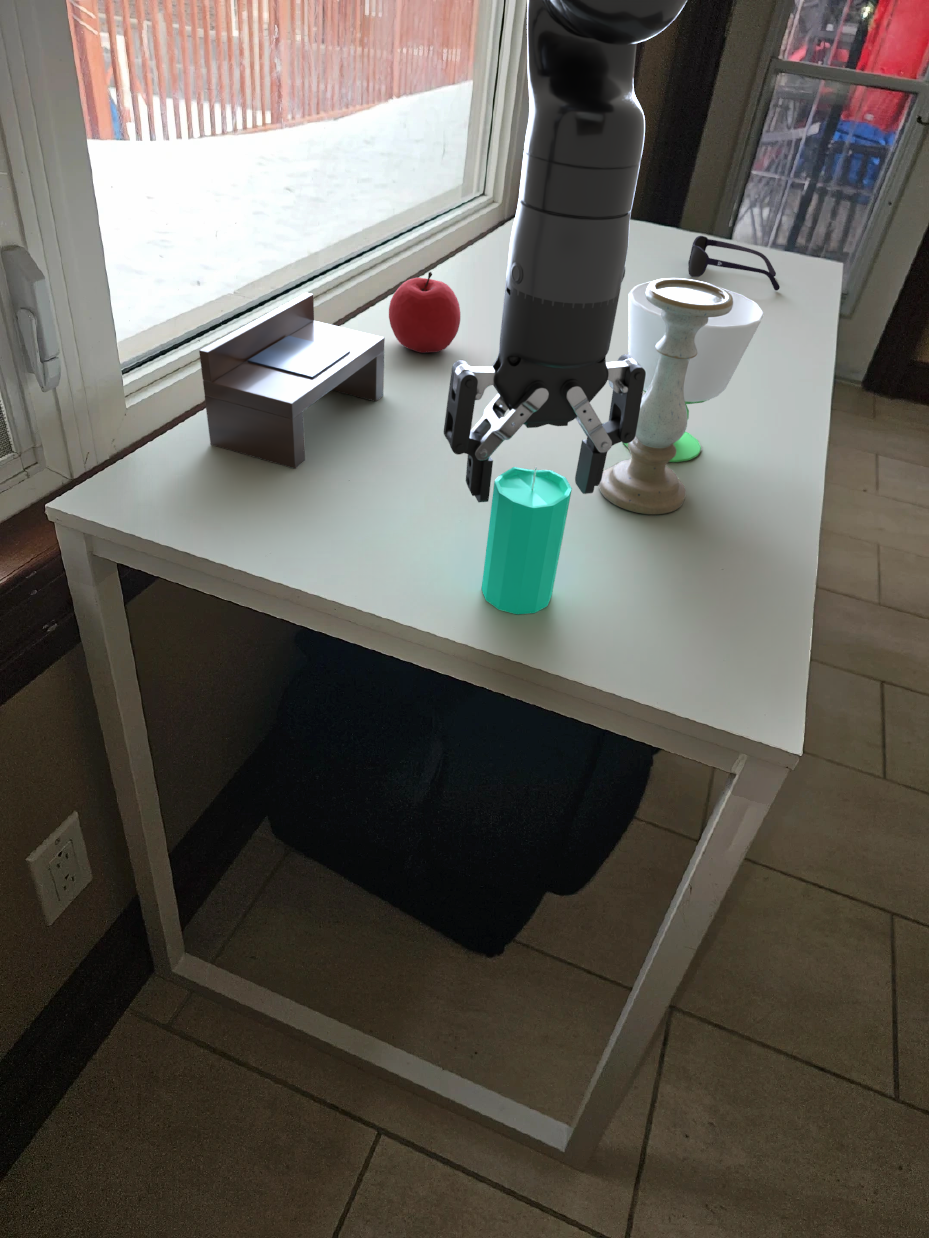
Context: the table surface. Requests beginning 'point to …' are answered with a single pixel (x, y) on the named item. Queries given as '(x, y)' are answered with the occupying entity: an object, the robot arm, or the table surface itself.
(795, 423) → the table surface
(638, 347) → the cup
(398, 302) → the apple
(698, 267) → the sunglasses
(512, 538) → the candle
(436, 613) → the table surface
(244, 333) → the shelf
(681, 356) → the candle holder
